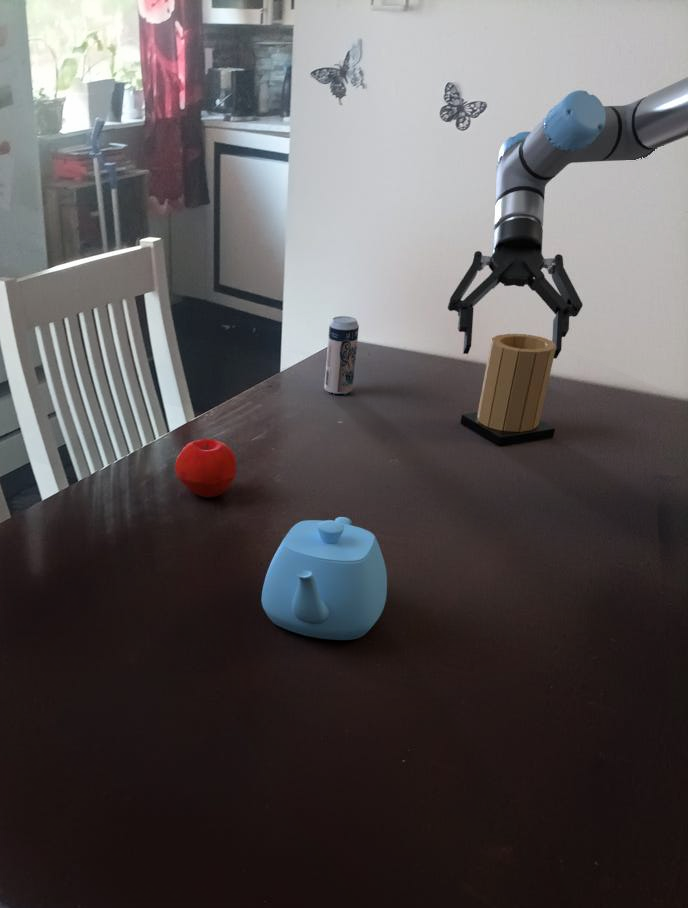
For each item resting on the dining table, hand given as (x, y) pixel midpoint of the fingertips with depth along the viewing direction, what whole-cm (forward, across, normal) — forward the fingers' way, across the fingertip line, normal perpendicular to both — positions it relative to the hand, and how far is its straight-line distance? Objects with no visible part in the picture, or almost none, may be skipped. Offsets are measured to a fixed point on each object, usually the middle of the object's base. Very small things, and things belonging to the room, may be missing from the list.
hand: (511, 352), depth 141 cm
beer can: (+3, +26, -11) cm, 29 cm away
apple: (+34, +43, +20) cm, 58 cm away
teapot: (+54, +26, +40) cm, 73 cm away
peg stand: (+13, 0, -1) cm, 13 cm away
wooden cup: (+12, 0, 0) cm, 12 cm away
